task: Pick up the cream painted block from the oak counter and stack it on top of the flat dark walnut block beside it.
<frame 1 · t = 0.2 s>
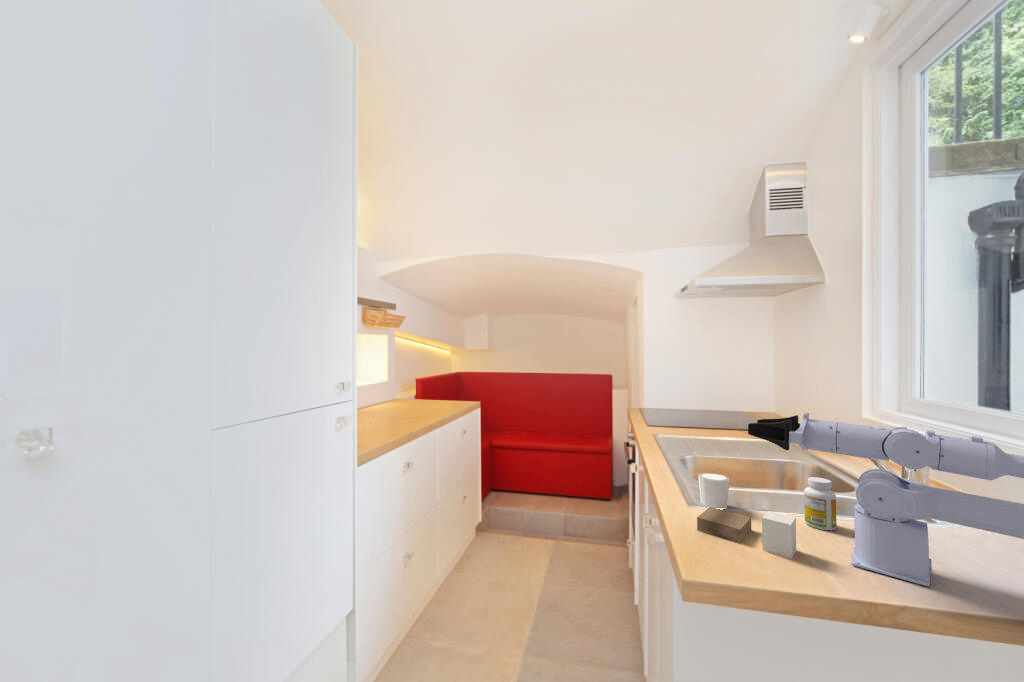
hand: (753, 426, 83), 21 cm above the table, tool horizontal, fingers open, 7 cm apart
cream block: (779, 550, 74), on the table
supplement bottle: (820, 526, 85), on the table
white cup: (713, 506, 96), on the table
walnut block: (724, 532, 83), on the table
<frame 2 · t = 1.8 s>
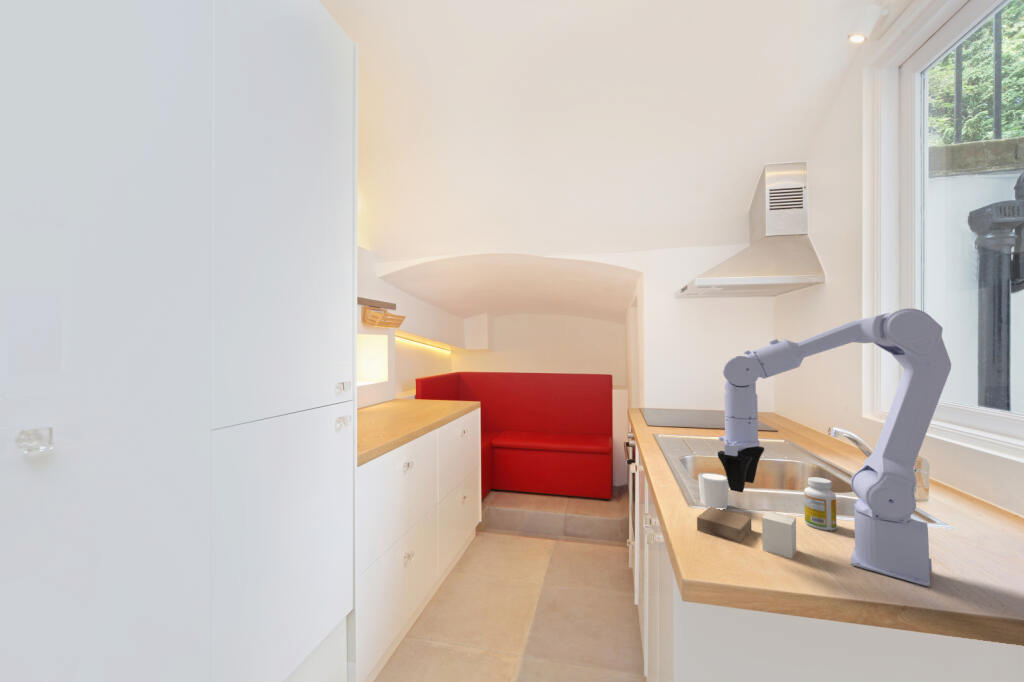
hand: (742, 486, 79), 10 cm above the table, tool pointing down, fingers open, 7 cm apart
nothing on the table moved.
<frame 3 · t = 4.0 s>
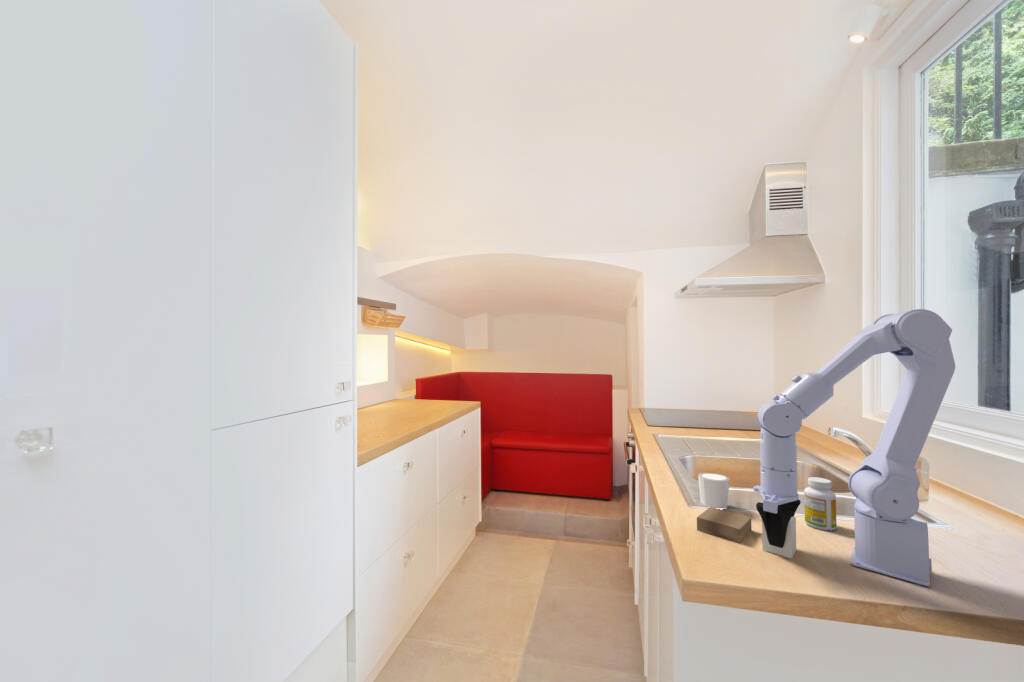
hand: (779, 541, 74), 2 cm above the table, tool pointing down, fingers closed on cream block, 4 cm apart
cream block: (779, 550, 74), on the table, touching gripper
everything else where it was.
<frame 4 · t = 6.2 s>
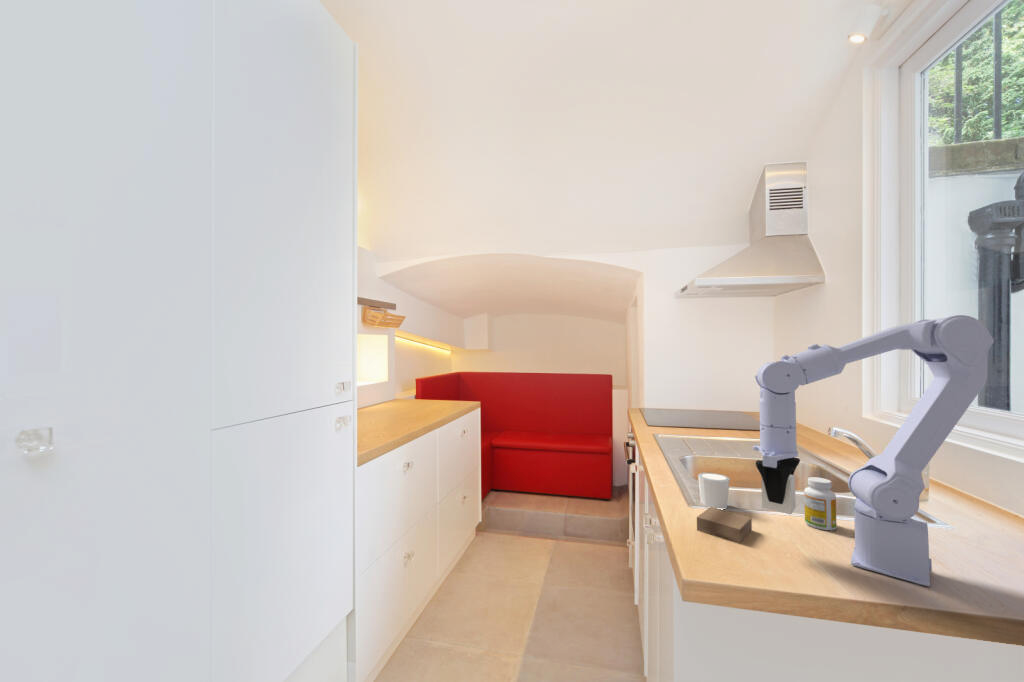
hand: (778, 498, 75), 9 cm above the table, tool pointing down, fingers closed on cream block, 4 cm apart
cream block: (778, 507, 75), point 8 cm above the table, touching gripper
everything else where it was.
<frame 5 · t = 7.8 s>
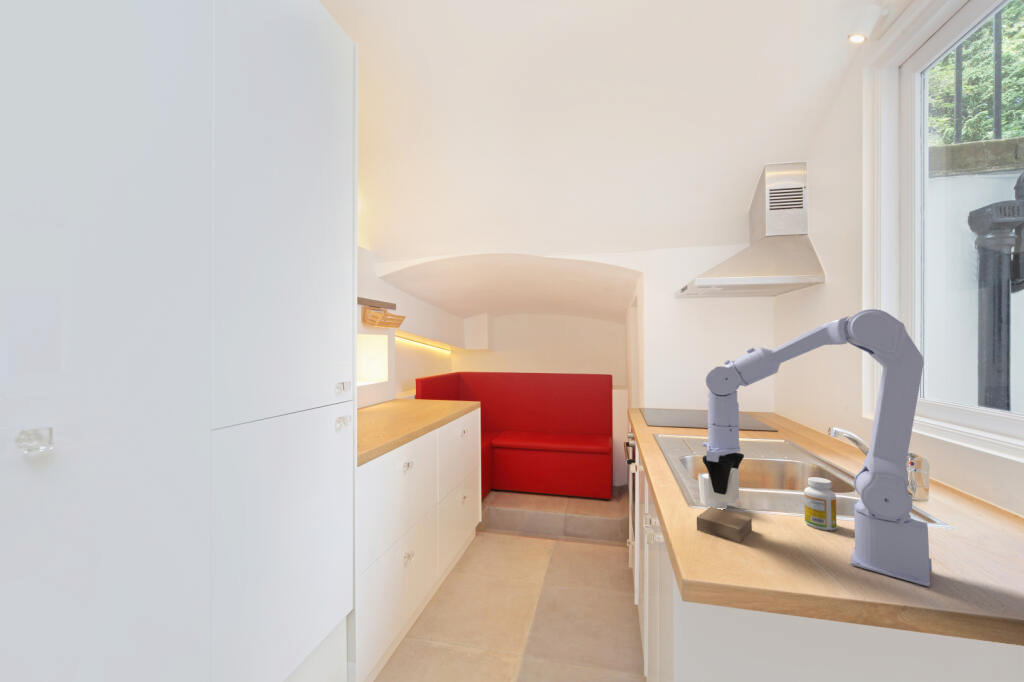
hand: (723, 490, 83), 8 cm above the table, tool pointing down, fingers closed on cream block, 4 cm apart
cream block: (723, 498, 83), point 7 cm above the table, touching gripper
everything else where it was.
when the fingers open (6 cm above the table, at t = 8.8 s): cream block drops 1 cm, resting on walnut block.
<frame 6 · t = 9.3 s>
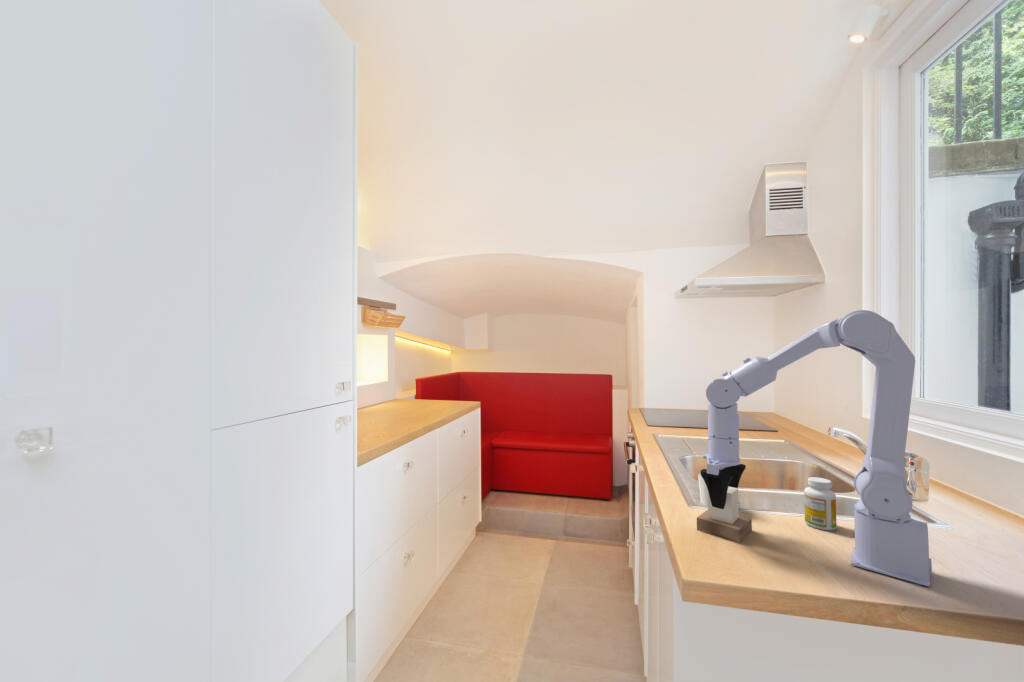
hand: (724, 502, 83), 6 cm above the table, tool pointing down, fingers open, 7 cm apart
cream block: (723, 517, 83), point 2 cm above the table, touching walnut block
walnut block: (724, 532, 83), on the table, touching cream block
everything else where it was.
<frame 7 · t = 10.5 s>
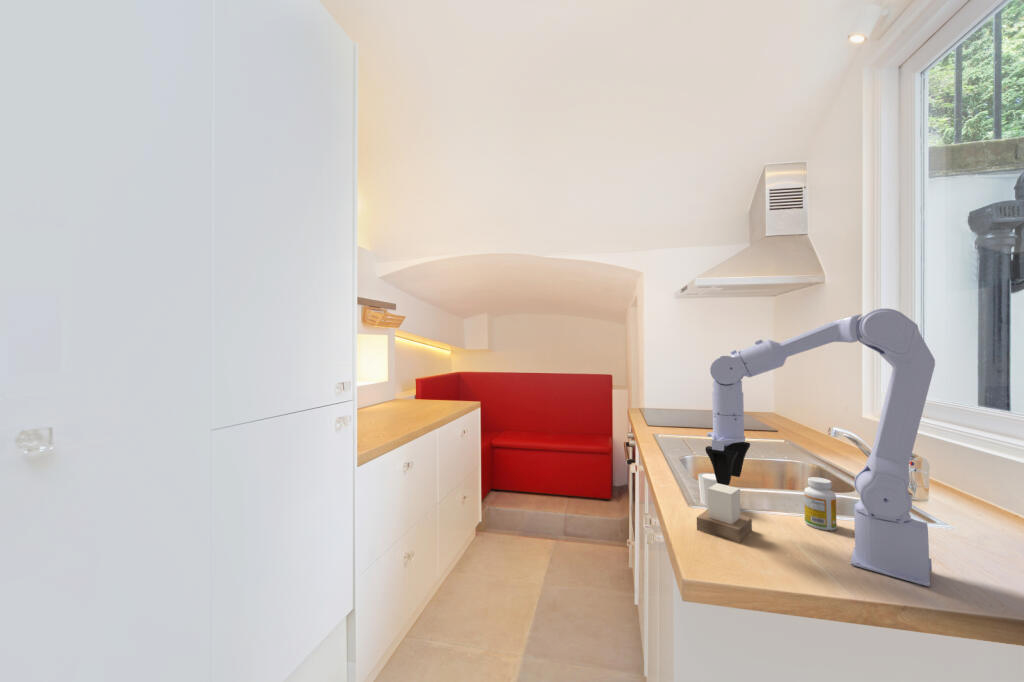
hand: (728, 479, 83), 10 cm above the table, tool pointing down, fingers open, 7 cm apart
nothing on the table moved.
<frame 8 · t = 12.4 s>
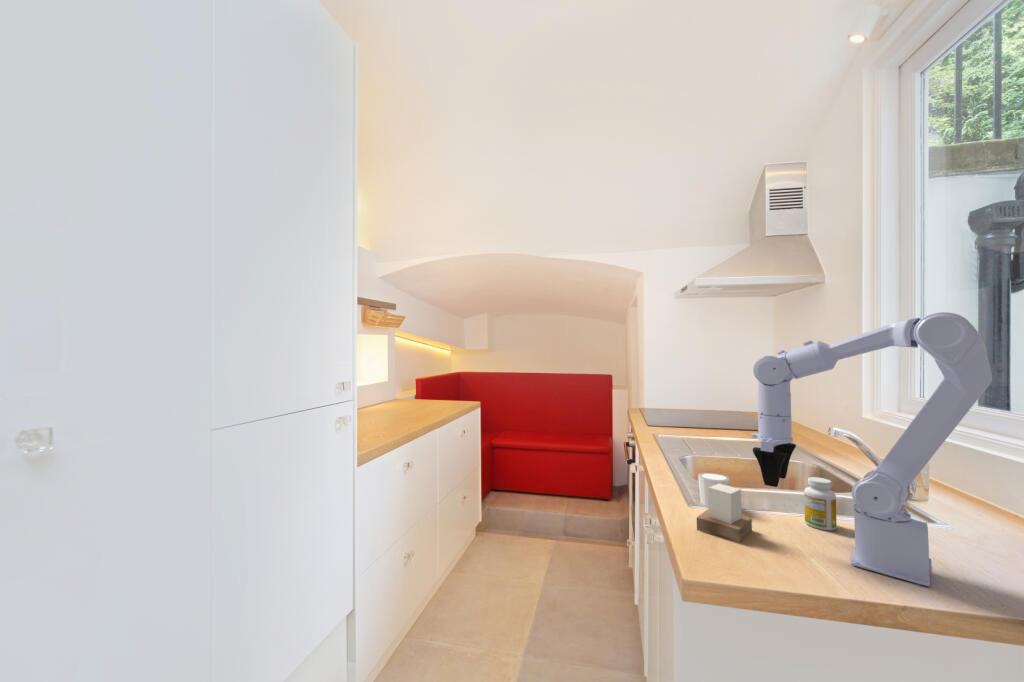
hand: (775, 481, 82), 10 cm above the table, tool pointing down, fingers open, 7 cm apart
nothing on the table moved.
at the end: cream block 0.1 cm off-centre on the walnut block, point 3.1 cm above the walnut block's base; cream block tilted 1°; the gripper is holding nothing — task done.
